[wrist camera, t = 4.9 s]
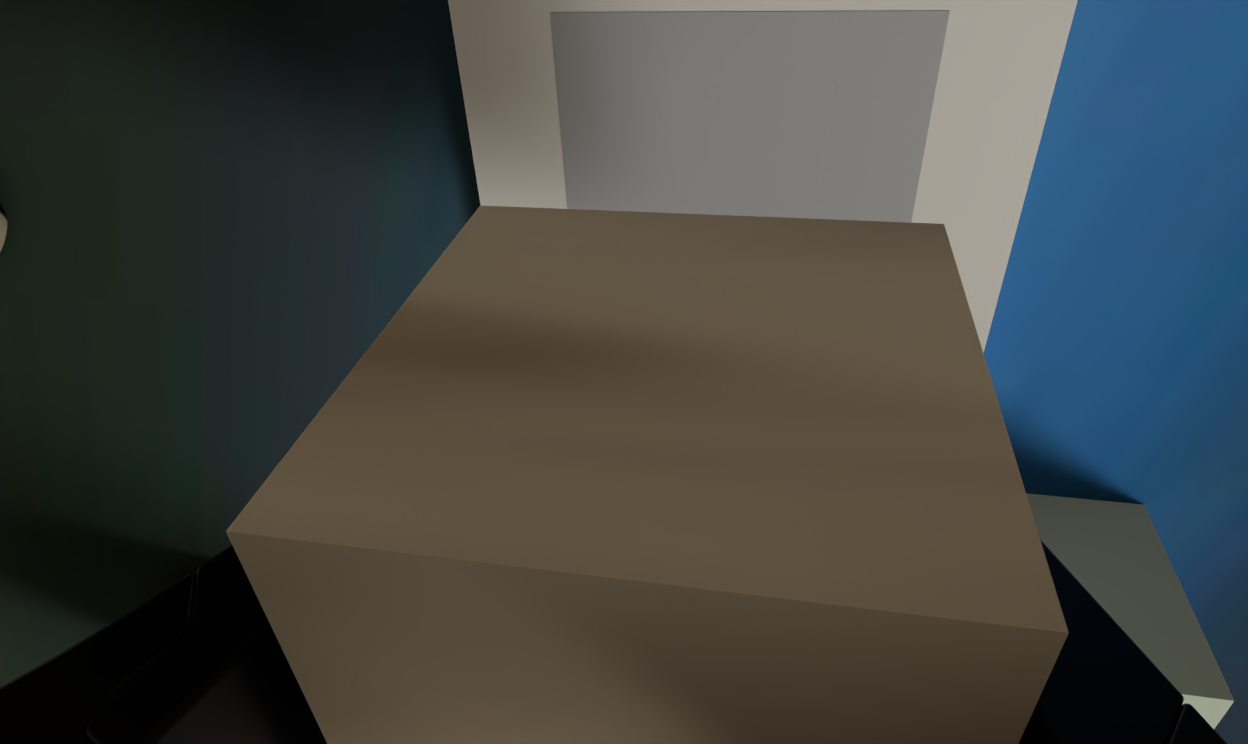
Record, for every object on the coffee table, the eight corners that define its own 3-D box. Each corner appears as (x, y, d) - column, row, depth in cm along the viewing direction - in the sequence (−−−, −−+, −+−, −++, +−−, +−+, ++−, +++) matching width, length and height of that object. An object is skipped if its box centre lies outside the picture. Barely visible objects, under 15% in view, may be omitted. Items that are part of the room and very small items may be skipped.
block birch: (875, 554, 11) (912, 979, 7) (529, 516, 12) (391, 877, 8) (943, 223, 8) (1069, 633, 4) (480, 205, 9) (225, 531, 5)
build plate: (957, 403, 18) (963, 427, 17) (520, 370, 19) (509, 390, 19) (1095, -135, 12) (1112, -130, 11) (448, -114, 13) (430, -109, 13)
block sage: (1078, 635, 21) (1139, 831, 17) (883, 612, 22) (899, 793, 18) (1142, 502, 18) (1234, 700, 14) (914, 480, 19) (941, 662, 15)
